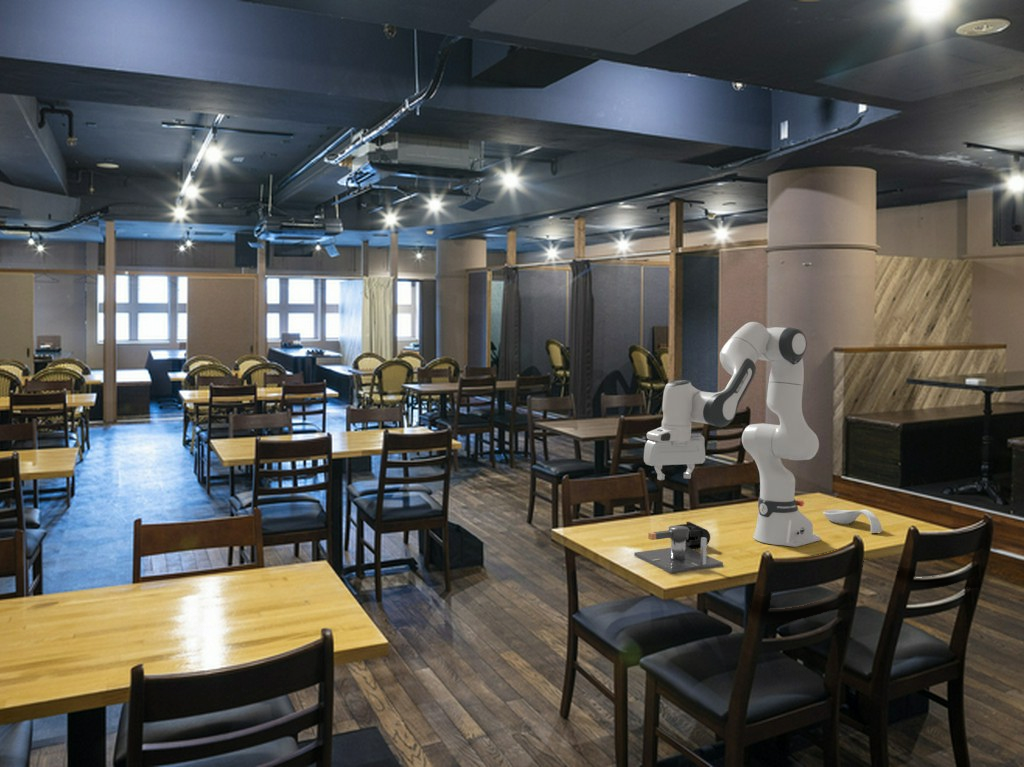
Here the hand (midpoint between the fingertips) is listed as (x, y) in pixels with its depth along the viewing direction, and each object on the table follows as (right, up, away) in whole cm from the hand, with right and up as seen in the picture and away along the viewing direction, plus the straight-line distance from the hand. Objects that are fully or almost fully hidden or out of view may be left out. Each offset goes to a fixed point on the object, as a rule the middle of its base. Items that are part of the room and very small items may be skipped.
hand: (674, 479), depth 243 cm
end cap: (+10, -24, +20) cm, 33 cm away
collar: (-2, -18, 0) cm, 18 cm away
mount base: (+2, -25, +3) cm, 26 cm away
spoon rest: (+74, -23, +47) cm, 91 cm away
